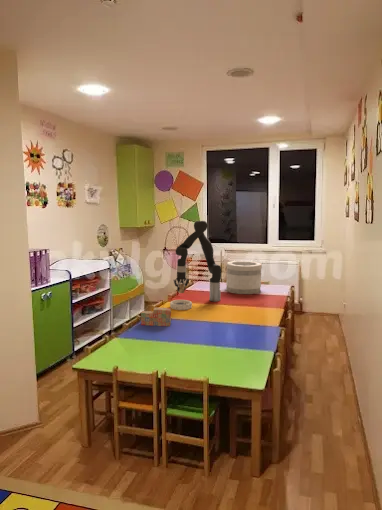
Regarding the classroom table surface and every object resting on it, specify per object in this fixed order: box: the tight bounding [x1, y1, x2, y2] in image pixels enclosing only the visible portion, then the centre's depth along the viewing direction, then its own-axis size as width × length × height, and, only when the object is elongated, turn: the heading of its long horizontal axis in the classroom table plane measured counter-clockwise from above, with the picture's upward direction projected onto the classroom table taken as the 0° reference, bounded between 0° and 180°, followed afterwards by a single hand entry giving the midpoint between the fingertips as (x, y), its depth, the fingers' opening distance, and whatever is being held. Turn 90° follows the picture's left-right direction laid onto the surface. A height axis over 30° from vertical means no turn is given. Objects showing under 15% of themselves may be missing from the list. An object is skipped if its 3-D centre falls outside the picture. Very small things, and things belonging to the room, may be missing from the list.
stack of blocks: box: [140, 307, 172, 327], centre depth 309 cm, size 21×6×12 cm, turn 85°
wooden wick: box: [177, 283, 185, 294], centre depth 356 cm, size 4×4×7 cm
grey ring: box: [169, 299, 193, 311], centre depth 357 cm, size 18×18×4 cm
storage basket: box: [225, 260, 263, 295], centre depth 423 cm, size 35×35×27 cm
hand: (181, 290), depth 356 cm, fingers closed on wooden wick, 4 cm apart
